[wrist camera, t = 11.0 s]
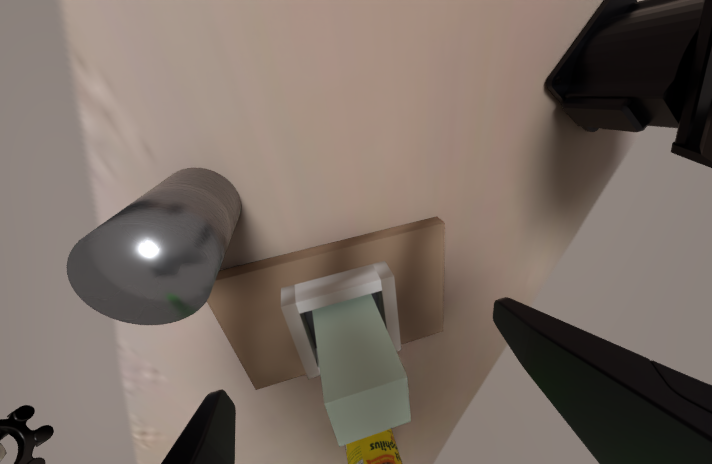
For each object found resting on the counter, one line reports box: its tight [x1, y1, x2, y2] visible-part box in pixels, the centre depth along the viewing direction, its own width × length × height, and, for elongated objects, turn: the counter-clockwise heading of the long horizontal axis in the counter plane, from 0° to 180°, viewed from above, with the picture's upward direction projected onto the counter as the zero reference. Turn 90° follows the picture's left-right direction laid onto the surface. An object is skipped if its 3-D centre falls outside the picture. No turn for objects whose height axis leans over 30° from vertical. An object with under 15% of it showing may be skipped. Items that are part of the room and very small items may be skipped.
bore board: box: [207, 217, 445, 390], centre depth 22 cm, size 18×12×3 cm, turn 98°
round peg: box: [67, 168, 241, 325], centre depth 13 cm, size 4×4×8 cm
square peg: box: [312, 294, 411, 447], centre depth 18 cm, size 4×4×8 cm
